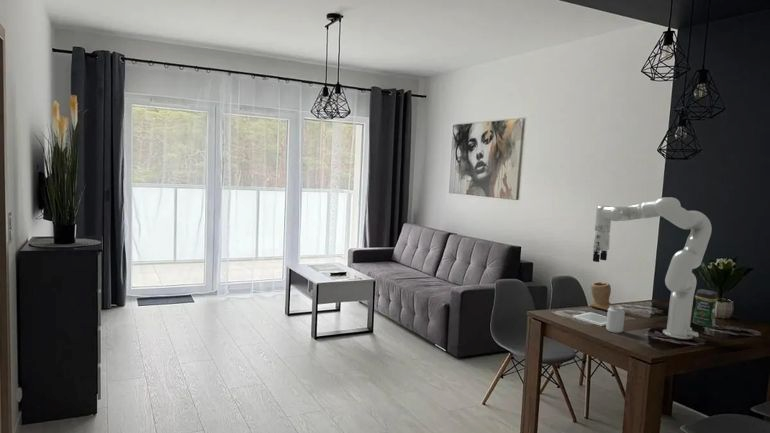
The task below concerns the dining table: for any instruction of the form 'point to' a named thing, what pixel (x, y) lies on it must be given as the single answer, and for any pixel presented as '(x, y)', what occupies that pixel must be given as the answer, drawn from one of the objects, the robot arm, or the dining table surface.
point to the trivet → (592, 318)
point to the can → (615, 319)
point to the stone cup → (601, 295)
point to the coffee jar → (705, 308)
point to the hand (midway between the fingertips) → (599, 260)
